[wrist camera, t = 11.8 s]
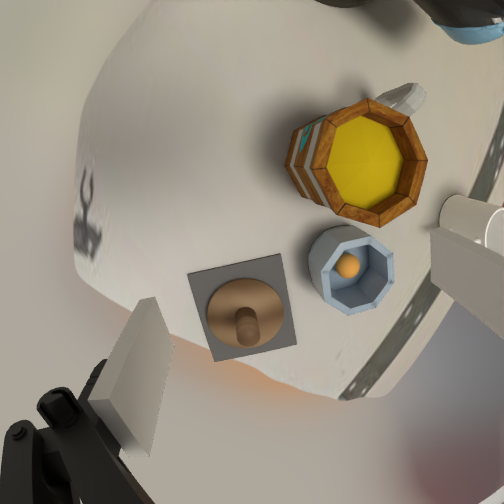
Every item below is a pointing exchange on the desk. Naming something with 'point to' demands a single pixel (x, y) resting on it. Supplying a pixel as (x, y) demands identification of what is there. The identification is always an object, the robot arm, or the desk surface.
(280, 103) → the desk surface
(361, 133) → the mug
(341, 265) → the ball
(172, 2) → the desk surface
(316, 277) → the bowl
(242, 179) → the desk surface
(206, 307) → the mat
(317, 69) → the desk surface
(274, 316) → the lid
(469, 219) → the mug
